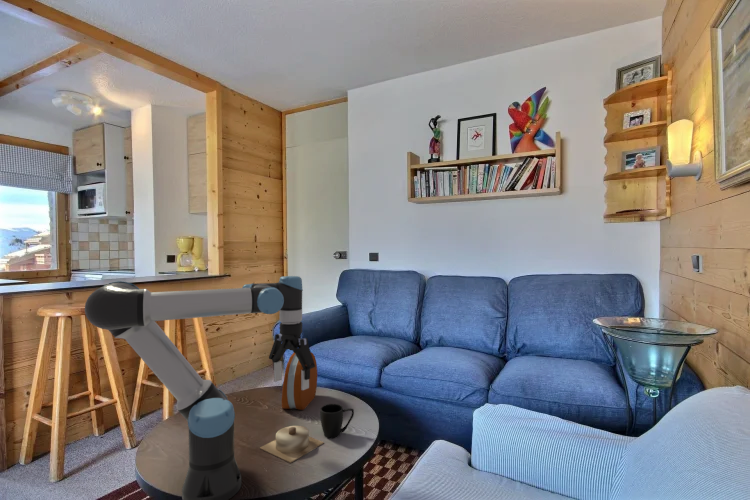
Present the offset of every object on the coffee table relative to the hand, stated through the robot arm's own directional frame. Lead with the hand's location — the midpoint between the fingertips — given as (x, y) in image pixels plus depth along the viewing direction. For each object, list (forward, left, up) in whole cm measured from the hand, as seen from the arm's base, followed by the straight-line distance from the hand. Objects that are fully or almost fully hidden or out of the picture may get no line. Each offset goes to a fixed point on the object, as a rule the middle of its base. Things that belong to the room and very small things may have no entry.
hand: (291, 384), depth 130 cm
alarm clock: (+27, +26, -21) cm, 43 cm away
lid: (0, 0, -20) cm, 20 cm away
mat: (0, 0, -21) cm, 21 cm away
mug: (+15, -7, -21) cm, 27 cm away
